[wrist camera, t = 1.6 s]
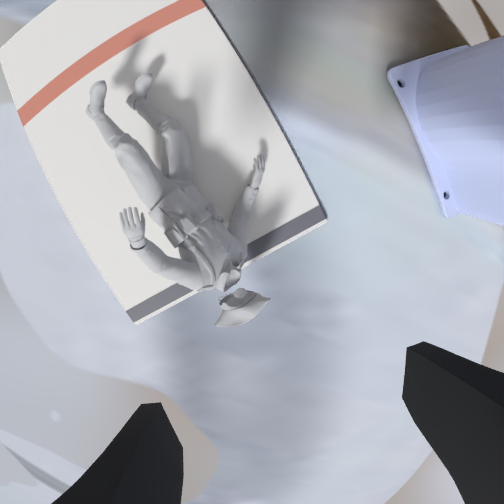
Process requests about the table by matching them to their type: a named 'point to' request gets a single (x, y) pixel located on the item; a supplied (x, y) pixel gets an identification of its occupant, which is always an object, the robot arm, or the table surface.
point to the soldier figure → (181, 208)
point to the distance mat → (150, 130)
